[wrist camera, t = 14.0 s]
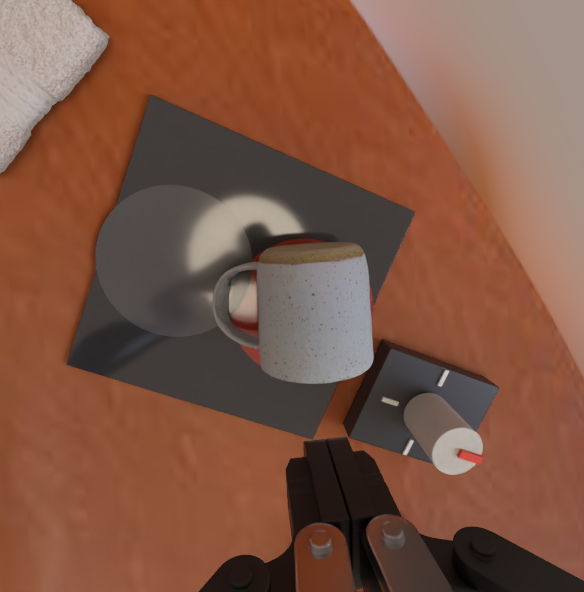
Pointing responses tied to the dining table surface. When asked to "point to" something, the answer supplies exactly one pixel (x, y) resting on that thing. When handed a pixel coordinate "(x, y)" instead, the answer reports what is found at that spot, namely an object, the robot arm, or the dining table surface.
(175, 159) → the hob
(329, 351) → the ceramic mug
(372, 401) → the control box
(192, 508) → the dining table surface
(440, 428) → the hob knob
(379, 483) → the robot arm
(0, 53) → the washcloth
